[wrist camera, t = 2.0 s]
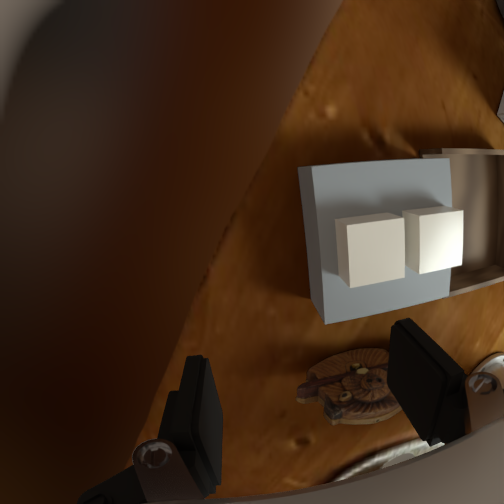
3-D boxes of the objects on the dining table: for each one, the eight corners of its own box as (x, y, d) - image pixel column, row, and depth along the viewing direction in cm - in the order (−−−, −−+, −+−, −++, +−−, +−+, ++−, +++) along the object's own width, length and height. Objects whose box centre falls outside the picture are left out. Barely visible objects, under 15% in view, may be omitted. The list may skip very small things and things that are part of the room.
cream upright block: (387, 212, 26) (404, 217, 23) (389, 267, 27) (404, 277, 24) (334, 219, 26) (346, 225, 23) (338, 276, 27) (349, 288, 24)
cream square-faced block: (444, 205, 26) (463, 210, 23) (444, 256, 27) (461, 264, 24) (402, 210, 26) (419, 215, 23) (403, 264, 27) (419, 274, 24)
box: (495, 150, 30) (518, 150, 26) (495, 266, 35) (515, 276, 30) (419, 149, 30) (441, 148, 26) (423, 285, 34) (442, 298, 30)
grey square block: (418, 158, 31) (449, 158, 25) (421, 277, 34) (448, 295, 28) (297, 167, 30) (311, 166, 25) (310, 299, 34) (325, 324, 28)
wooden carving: (412, 325, 36) (453, 366, 26) (410, 354, 37) (447, 398, 27) (286, 358, 36) (301, 415, 26) (291, 386, 37) (305, 444, 27)
